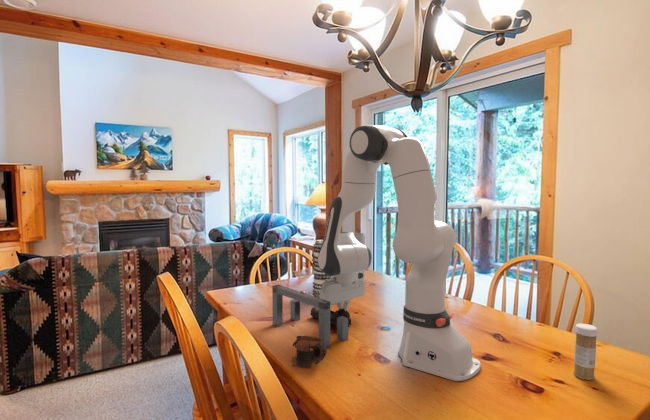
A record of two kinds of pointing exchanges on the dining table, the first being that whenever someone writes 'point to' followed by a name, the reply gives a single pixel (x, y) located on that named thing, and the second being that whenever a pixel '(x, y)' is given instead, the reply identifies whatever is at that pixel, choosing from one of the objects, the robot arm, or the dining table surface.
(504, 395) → the dining table surface
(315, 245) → the decorative candle
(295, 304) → the guide posts
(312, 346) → the pottery mug
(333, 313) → the dark elongated lumpy piece
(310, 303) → the grey arch frame
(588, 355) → the sprinkles bottle
